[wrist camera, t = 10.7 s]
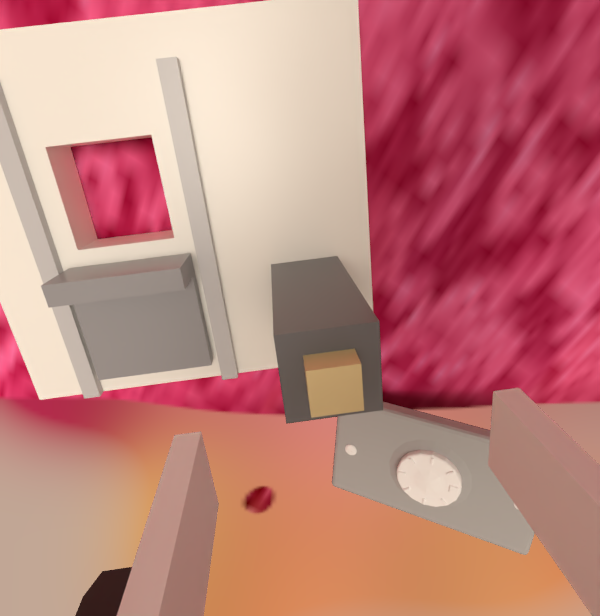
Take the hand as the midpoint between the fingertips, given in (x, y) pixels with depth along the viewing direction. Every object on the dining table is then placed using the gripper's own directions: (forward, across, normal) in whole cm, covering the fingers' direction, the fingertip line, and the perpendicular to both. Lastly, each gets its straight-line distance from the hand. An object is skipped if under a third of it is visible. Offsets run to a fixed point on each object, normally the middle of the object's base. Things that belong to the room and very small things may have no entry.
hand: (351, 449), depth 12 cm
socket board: (+17, -7, +5) cm, 19 cm away
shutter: (+14, -10, 0) cm, 17 cm away
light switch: (+18, +8, -15) cm, 24 cm away
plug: (+14, 0, 0) cm, 14 cm away
